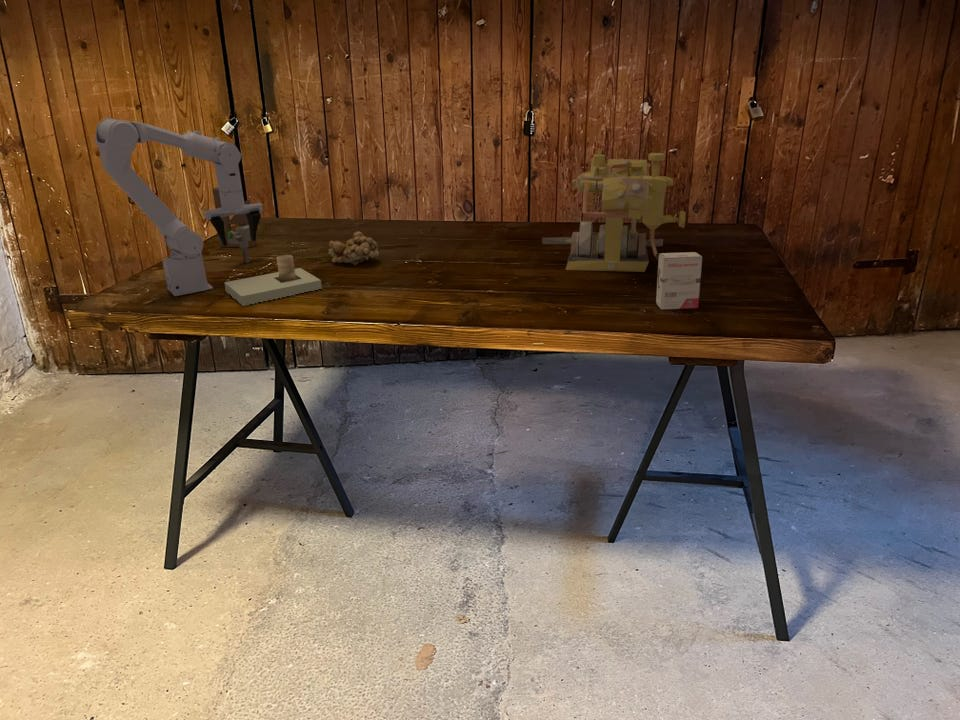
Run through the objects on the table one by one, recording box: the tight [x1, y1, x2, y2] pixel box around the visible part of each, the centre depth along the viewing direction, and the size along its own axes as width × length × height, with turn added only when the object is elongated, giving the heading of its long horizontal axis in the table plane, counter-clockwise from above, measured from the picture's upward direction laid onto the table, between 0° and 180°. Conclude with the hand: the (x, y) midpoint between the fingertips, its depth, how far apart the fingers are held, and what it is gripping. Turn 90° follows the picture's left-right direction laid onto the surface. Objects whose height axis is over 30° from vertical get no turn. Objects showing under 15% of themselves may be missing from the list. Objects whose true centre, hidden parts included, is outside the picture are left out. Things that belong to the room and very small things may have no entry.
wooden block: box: [212, 186, 257, 248], centre depth 220 cm, size 4×11×18 cm, turn 83°
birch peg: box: [276, 254, 296, 283], centre depth 181 cm, size 4×4×8 cm
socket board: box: [223, 267, 323, 307], centre depth 180 cm, size 20×14×2 cm
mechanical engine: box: [541, 148, 686, 273], centre depth 188 cm, size 39×37×30 cm
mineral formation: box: [328, 231, 380, 266], centre depth 201 cm, size 8×13×15 cm
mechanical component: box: [226, 225, 258, 264], centre depth 204 cm, size 3×10×10 cm, turn 152°
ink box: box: [655, 251, 703, 310], centre depth 160 cm, size 9×5×12 cm, turn 92°
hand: (239, 242), depth 189 cm, fingers open, 7 cm apart
